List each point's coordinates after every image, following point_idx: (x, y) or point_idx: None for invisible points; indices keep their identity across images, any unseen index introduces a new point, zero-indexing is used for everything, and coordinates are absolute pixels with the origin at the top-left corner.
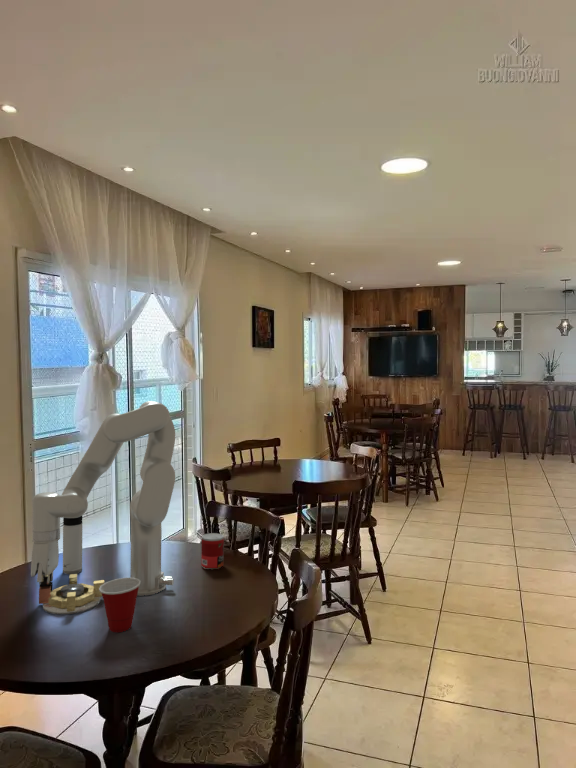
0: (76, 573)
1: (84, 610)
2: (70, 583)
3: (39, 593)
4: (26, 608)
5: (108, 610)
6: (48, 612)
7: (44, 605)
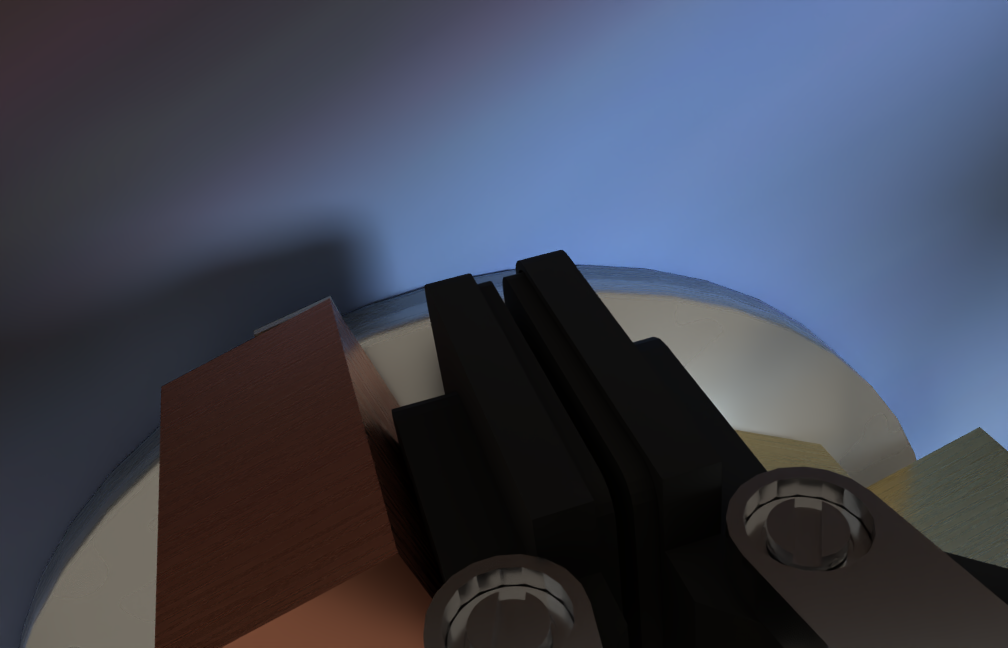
0: None
1: None
2: None
3: (163, 590)
4: (76, 47)
5: None
6: (30, 608)
7: None
